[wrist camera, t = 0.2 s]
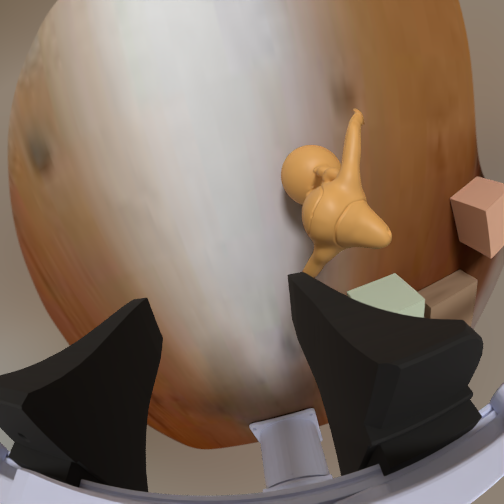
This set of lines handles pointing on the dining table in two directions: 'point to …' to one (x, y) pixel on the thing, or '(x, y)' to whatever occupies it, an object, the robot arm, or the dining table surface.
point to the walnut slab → (451, 297)
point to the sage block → (390, 296)
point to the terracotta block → (480, 215)
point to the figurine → (333, 199)
